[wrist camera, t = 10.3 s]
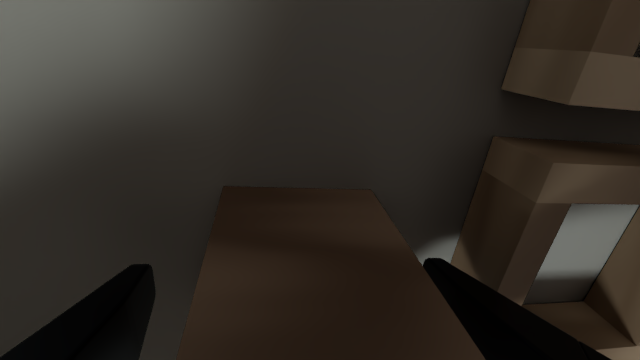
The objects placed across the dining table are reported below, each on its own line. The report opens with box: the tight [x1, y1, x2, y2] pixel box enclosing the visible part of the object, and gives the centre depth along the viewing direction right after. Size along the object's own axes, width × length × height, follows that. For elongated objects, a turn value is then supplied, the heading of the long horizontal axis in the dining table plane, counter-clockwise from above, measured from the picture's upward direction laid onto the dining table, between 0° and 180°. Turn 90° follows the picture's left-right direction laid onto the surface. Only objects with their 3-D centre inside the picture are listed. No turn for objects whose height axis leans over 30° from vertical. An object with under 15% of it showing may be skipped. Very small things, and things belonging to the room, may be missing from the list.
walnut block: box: [176, 186, 486, 360], centre depth 7 cm, size 4×4×6 cm
